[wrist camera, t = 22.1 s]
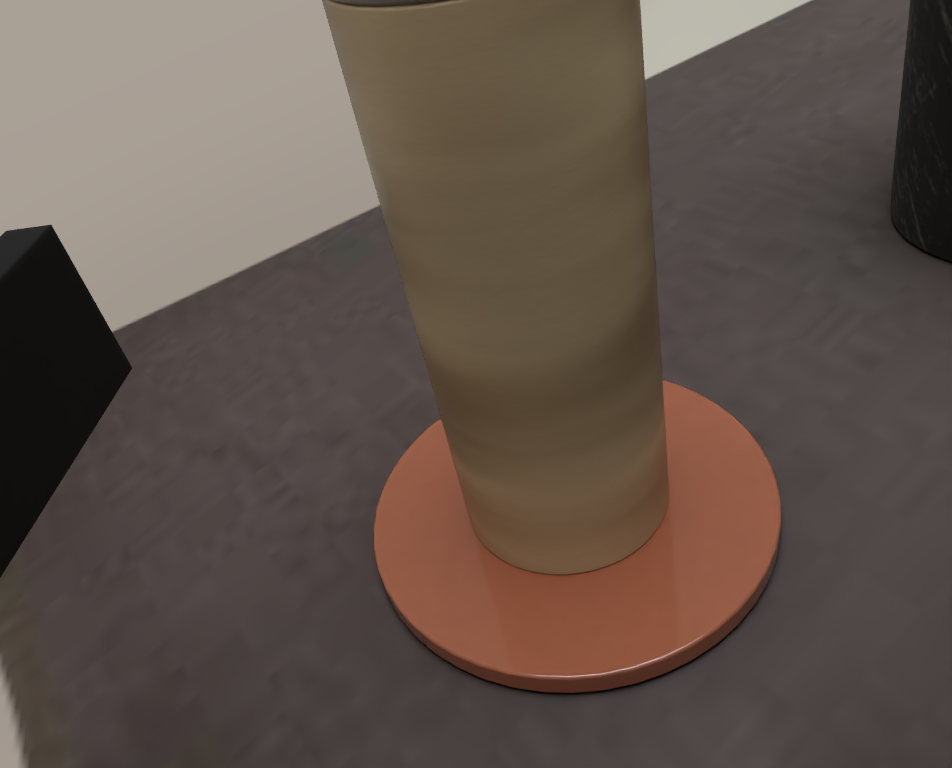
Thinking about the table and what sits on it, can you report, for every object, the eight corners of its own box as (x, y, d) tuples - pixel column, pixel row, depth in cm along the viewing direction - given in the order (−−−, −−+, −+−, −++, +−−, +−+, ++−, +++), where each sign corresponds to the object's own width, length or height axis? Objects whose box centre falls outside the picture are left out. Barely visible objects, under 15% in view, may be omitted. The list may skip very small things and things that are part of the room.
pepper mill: (672, 551, 22) (732, 709, 8) (485, 561, 23) (257, 718, 9) (624, 41, 23) (607, -553, 10) (450, 68, 24) (206, -438, 11)
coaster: (794, 399, 23) (795, 382, 23) (759, 744, 16) (760, 727, 16) (457, 372, 27) (453, 358, 26) (310, 643, 20) (302, 629, 19)
